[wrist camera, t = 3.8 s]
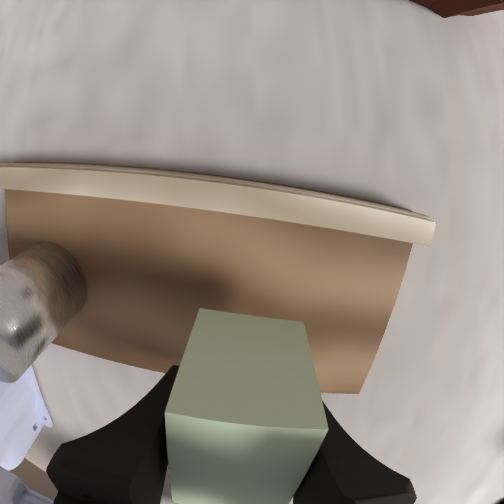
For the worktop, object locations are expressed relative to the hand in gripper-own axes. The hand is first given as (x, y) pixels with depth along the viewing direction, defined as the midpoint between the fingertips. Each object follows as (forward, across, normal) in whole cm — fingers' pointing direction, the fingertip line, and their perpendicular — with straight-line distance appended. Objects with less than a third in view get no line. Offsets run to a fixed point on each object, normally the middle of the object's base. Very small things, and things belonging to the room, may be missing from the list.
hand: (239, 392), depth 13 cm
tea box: (+2, 0, 0) cm, 2 cm away
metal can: (+5, +12, -1) cm, 13 cm away
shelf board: (+6, +4, -2) cm, 7 cm away
